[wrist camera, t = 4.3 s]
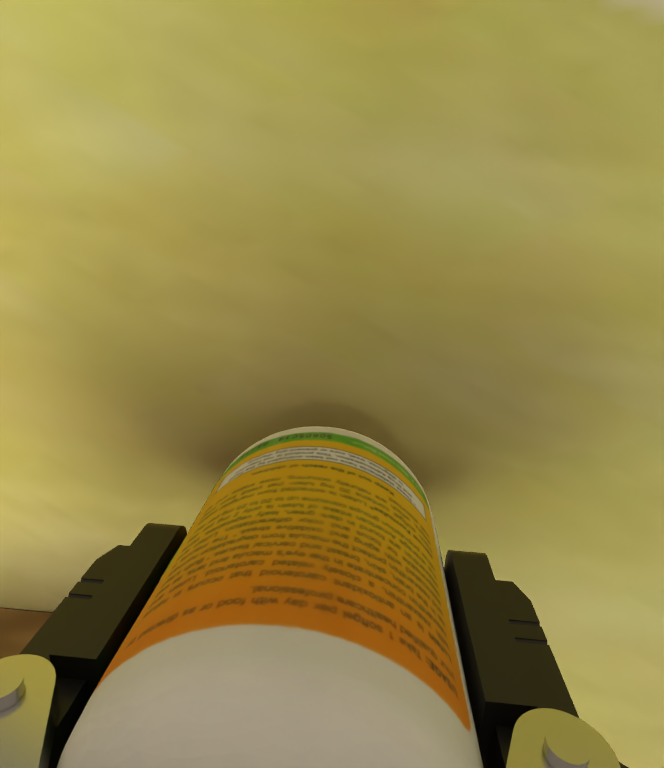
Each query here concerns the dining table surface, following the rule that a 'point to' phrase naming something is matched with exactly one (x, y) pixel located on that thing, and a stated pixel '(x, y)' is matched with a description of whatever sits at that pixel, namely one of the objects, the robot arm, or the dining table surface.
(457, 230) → the dining table surface
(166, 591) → the supplement bottle
